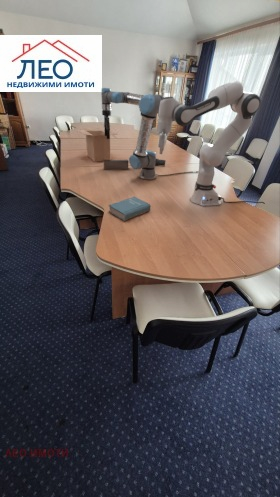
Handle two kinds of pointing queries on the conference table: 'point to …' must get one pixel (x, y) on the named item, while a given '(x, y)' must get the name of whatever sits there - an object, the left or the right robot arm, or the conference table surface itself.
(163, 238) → the conference table surface
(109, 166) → the bar
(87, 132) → the box
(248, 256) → the conference table surface
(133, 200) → the book
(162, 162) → the laser sight
